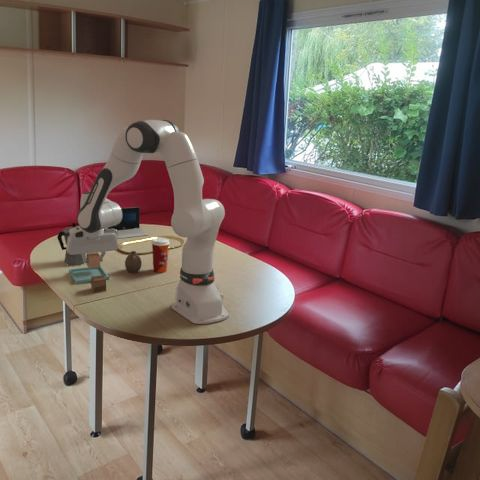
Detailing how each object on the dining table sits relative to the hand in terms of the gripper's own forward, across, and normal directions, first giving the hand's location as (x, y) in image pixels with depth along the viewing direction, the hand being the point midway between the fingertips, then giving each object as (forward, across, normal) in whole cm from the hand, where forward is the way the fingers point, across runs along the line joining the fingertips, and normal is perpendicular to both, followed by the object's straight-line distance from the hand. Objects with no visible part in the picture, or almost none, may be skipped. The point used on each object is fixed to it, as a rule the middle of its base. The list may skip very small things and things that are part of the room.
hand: (93, 262), depth 199 cm
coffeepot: (+5, +5, -15) cm, 17 cm away
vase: (+5, -16, +3) cm, 17 cm away
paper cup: (+5, -27, +6) cm, 28 cm away
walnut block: (+5, +2, +17) cm, 18 cm away
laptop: (+6, -30, -50) cm, 58 cm away
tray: (+5, +2, +2) cm, 6 cm away
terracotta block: (+2, 0, 0) cm, 2 cm away
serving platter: (+6, -35, -27) cm, 44 cm away
